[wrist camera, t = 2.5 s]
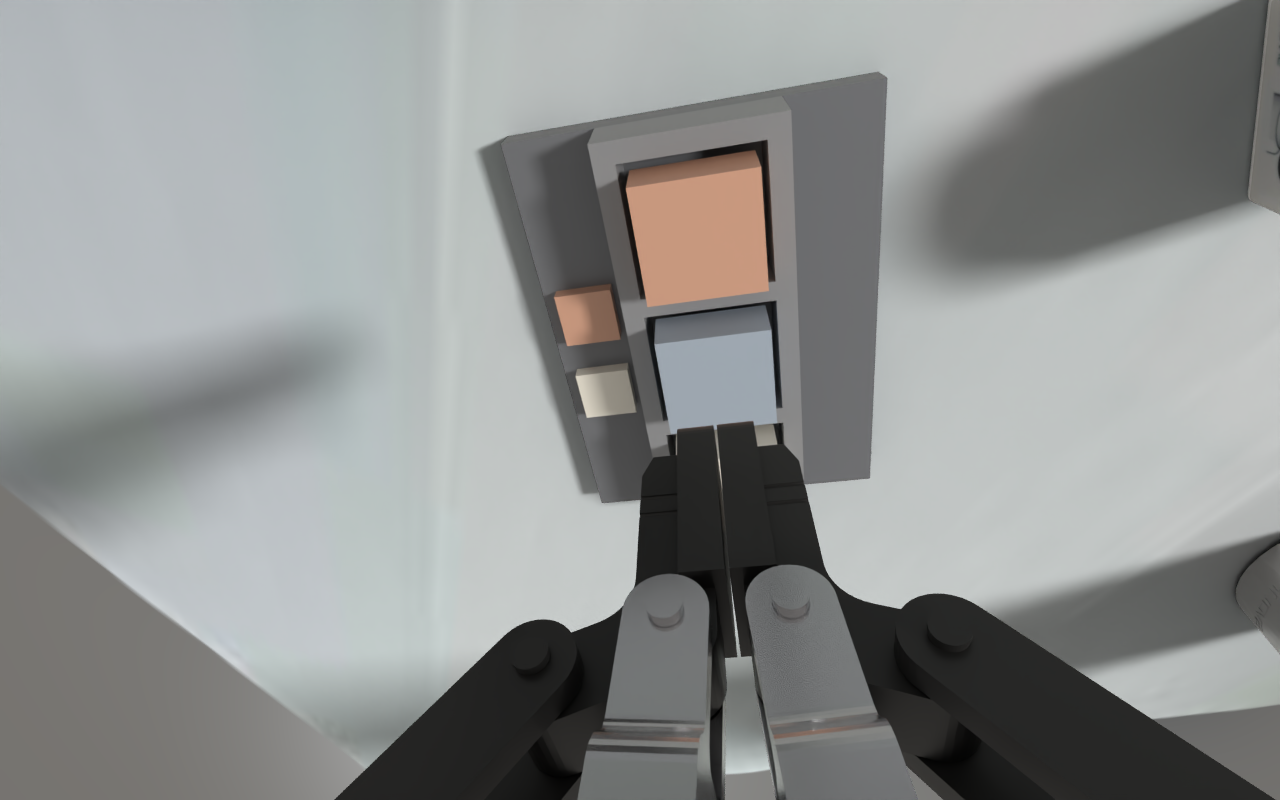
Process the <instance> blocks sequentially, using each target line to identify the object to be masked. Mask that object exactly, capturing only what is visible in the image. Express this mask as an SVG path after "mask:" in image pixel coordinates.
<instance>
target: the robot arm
mask: <svg viewBox="0 0 1280 800" xmlns="http://www.w3.org/2000/svg"><path fill="white" fill-rule="evenodd" d="M717 435H718V447H719V458H720V469H719V462H718V454H717V447H716V439H715V432H714V426H713V425H710V426H701V427H692V428H682V429H677V455H671V456H661V457H653V459H652V461H651V462H650V464H649V466H648V467H647V469H646V471H645V472H644V474H643V476H642V486H641V503H640V520H639V536H638V553H637V570H636V582H635V586H634V589H633V590H632V591H631V592H630V593H629V595H628V596H627V598H626V600H625V602H624V605H623V606H622V608H621V609H620V610H618V611H617V612H616V613H615V614H613V615H612V616H610V617H609V618H607V619H605V620H603V621H601V622H598V623H596V624H593V625H590V626H588V627H585V628H582V629H580V630H577V631H574V632H572V633H571V632H570V631H569V629H567V628H566V627H565V626H564V625H562V624H560V623H559V622H556V621H552V620H534V621H529V622H526V623H523V624H521V625H519V626H517V627H515V628H514V629H512V630H511V631H509V632H508V633H507V634H506V635H505V636H504V637H503V638H502V639H500V640H499V641H498V642H497V643H496V644H495V645H494V646H493V647H492V648H491V649H490V650H489V651H488V652H487V653H486V654H485V655H484V656H483V657H482V658H481V659H480V660H479V661H478V662H477V663H476V664H475V665H474V666H473V667H471V668H470V669H469V670H468V671H467V672H466V673H465V674H464V675H463V676H462V677H461V678H460V679H459V680H458V681H457V682H456V683H455V684H454V685H453V686H452V687H451V688H450V689H449V690H448V691H447V692H446V693H445V694H444V695H442V696H441V697H440V698H439V699H438V700H437V701H436V702H435V703H434V704H433V705H432V706H431V707H430V708H429V709H428V710H427V711H426V712H425V713H424V714H423V715H422V716H421V717H420V718H419V719H418V720H417V721H416V722H414V723H413V724H412V725H411V726H410V727H409V728H408V729H407V730H406V731H405V732H404V733H403V734H402V735H401V736H400V737H399V738H398V739H397V740H396V741H395V742H394V743H393V744H392V745H391V746H390V747H389V748H388V749H387V750H385V751H384V752H383V753H382V754H381V755H380V756H379V757H378V758H377V759H376V760H375V761H374V762H373V763H372V764H371V765H370V766H369V767H368V768H367V769H366V770H365V771H364V772H363V773H362V774H361V775H360V776H359V777H358V778H356V779H355V780H354V781H353V782H352V783H351V784H350V785H349V786H348V787H347V788H346V789H345V790H344V791H343V792H342V793H341V794H340V795H339V796H338V797H337V798H336V799H335V800H725V741H726V700H725V696H726V691H727V681H726V667H725V658H731V657H737V649H736V638H735V626H734V615H733V603H732V593H733V600H734V608H735V615H736V622H737V630H738V637H739V644H740V651H741V657H744V656H752V662H753V670H754V678H755V686H756V694H757V702H758V708H759V713H760V719H761V724H762V729H763V735H764V740H765V745H766V751H767V756H768V761H769V767H770V772H771V777H772V782H773V788H774V792H775V798H776V800H918V798H917V795H916V792H915V789H914V786H913V784H912V781H911V778H910V775H909V772H908V769H907V767H908V768H909V769H910V770H912V771H913V772H914V773H915V774H916V775H917V776H918V777H919V778H921V780H923V781H924V782H925V783H926V784H927V785H928V786H929V787H930V788H931V789H932V790H933V791H935V792H936V793H937V794H938V795H939V796H940V797H941V798H942V799H943V800H1275V799H1274V798H1272V797H1270V796H1269V795H1267V794H1266V793H1264V792H1263V791H1261V790H1260V789H1258V788H1257V787H1255V786H1254V785H1252V784H1250V783H1249V782H1247V781H1246V780H1244V779H1243V778H1241V777H1240V776H1238V775H1237V774H1235V773H1234V772H1232V771H1231V770H1229V769H1227V768H1226V767H1224V766H1223V765H1221V764H1220V763H1218V762H1217V761H1215V760H1214V759H1212V758H1211V757H1209V756H1207V755H1206V754H1204V753H1203V752H1201V751H1200V750H1198V749H1197V748H1195V747H1194V746H1192V745H1191V744H1189V743H1188V742H1186V741H1185V740H1183V739H1181V738H1180V737H1178V736H1177V735H1175V734H1174V733H1172V732H1171V731H1169V730H1168V729H1166V728H1164V727H1163V726H1162V725H1160V724H1158V723H1157V722H1155V721H1154V720H1152V719H1151V718H1149V717H1148V716H1146V715H1145V714H1143V713H1142V712H1140V711H1139V710H1137V709H1135V708H1134V707H1132V706H1131V705H1129V704H1128V703H1126V702H1125V701H1123V700H1122V699H1120V698H1119V697H1117V696H1115V695H1114V694H1112V693H1111V692H1109V691H1108V690H1106V689H1105V688H1103V687H1102V686H1100V685H1099V684H1097V683H1096V682H1094V681H1092V680H1091V679H1089V678H1088V677H1086V676H1085V675H1083V674H1082V673H1080V672H1079V671H1077V670H1076V669H1074V668H1073V667H1071V666H1069V665H1068V664H1066V663H1065V662H1063V661H1062V660H1060V659H1059V658H1057V657H1056V656H1054V655H1053V654H1051V653H1049V652H1048V651H1046V650H1045V649H1043V648H1042V647H1040V646H1039V645H1037V644H1036V643H1034V642H1033V641H1031V640H1030V639H1028V638H1026V637H1025V636H1023V635H1022V634H1020V633H1019V632H1017V631H1016V630H1014V629H1013V628H1011V627H1010V626H1008V625H1007V624H1005V623H1003V622H1002V621H1000V620H999V619H997V618H996V617H994V616H993V615H991V614H990V613H988V612H987V611H985V610H983V609H982V608H980V607H979V606H977V605H975V604H974V603H972V602H970V601H968V600H965V599H963V598H960V597H957V596H953V595H948V594H927V595H923V596H919V597H917V598H915V599H912V600H911V601H909V602H908V603H907V604H905V606H904V607H903V608H902V609H897V608H892V607H887V606H882V605H878V604H873V603H869V602H865V601H862V600H860V599H857V598H855V597H853V596H851V595H849V594H847V593H846V592H845V591H843V590H842V589H840V588H839V587H838V586H837V585H836V584H835V583H834V582H833V581H832V579H831V578H830V577H829V575H828V573H827V572H826V569H825V567H824V564H823V559H822V555H821V551H820V547H819V543H818V538H817V534H816V530H815V526H814V521H813V517H812V513H811V509H810V505H809V502H808V496H807V492H806V488H805V485H804V479H803V475H802V471H801V467H800V463H799V460H798V459H797V458H796V457H795V456H794V455H793V453H792V452H791V451H790V450H789V449H788V448H787V447H786V446H785V445H784V444H777V445H768V446H757V440H756V434H755V428H754V422H753V421H746V422H737V423H728V424H718V425H717ZM720 470H721V477H720ZM721 481H722V484H721ZM730 579H731V581H730ZM731 586H732V592H731ZM1236 600H1237V602H1238V604H1239V606H1240V608H1241V609H1242V610H1243V611H1244V612H1245V614H1246V615H1247V616H1248V617H1249V618H1250V619H1251V621H1252V622H1253V623H1254V624H1255V625H1256V627H1257V628H1258V629H1259V630H1260V631H1261V633H1262V634H1263V635H1264V636H1265V637H1266V639H1267V640H1268V641H1269V642H1270V643H1271V644H1272V646H1273V647H1274V648H1275V649H1276V650H1277V652H1278V653H1279V654H1280V543H1279V544H1277V545H1275V546H1274V547H1272V548H1271V549H1270V550H1268V551H1267V552H1265V553H1264V554H1263V555H1261V556H1260V557H1259V558H1258V559H1256V560H1255V561H1254V562H1253V563H1252V564H1251V565H1250V566H1249V567H1248V568H1247V569H1246V571H1245V572H1244V574H1243V575H1242V576H1241V578H1240V579H1239V582H1238V585H1237V587H1236ZM906 766H907V767H906Z"/></svg>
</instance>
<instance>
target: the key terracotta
mask: <svg viewBox="0 0 1280 800" xmlns="http://www.w3.org/2000/svg"><path fill="white" fill-rule="evenodd" d="M626 192H627V197H628V203H629V208H630V214H631V219H632V225H633V230H634V236H635V241H636V247H637V252H638V258H639V263H640V269H641V274H642V279H643V285H644V290H645V296H646V301H647V307H653V306H660V305H668V304H675V303H683V302H690V301H698V300H705V299H713V298H720V297H728V296H735V295H743V294H750V293H758V292H765V291H769V284H768V268H767V252H766V235H765V219H764V203H763V187H762V171H761V165H760V162H759V159H758V157H757V154H756V151H755V150H751V151H745V152H739V153H733V154H727V155H721V156H714V157H708V158H702V159H696V160H690V161H684V162H677V163H671V164H665V165H659V166H653V167H647V168H640V169H634V170H629V175H628V180H627V185H626Z"/></svg>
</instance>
